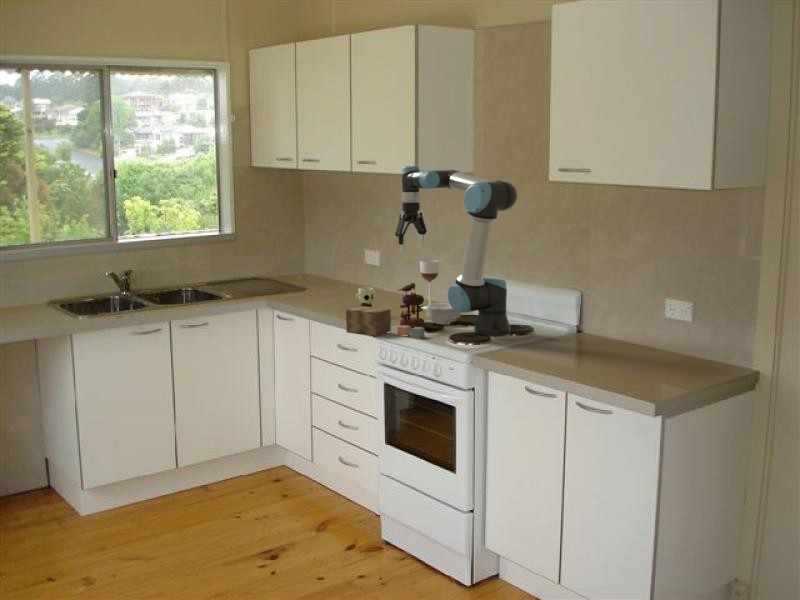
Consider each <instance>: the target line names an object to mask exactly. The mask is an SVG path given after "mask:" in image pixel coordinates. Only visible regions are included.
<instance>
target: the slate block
mask: <svg viewBox="0 0 800 600" xmlns="http://www.w3.org/2000/svg"><path fill="white" fill-rule="evenodd" d="M425 330H426V329H425V327H424V328H423V327H414V328H411V335H410V338H411V337H414V338H413V339H417V340H418V339H423V338H425V336H426V335H425V334H426V333H425V332H426V331H425Z"/></svg>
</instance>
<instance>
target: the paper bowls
mask: <svg viewBox="0 0 800 600" xmlns="http://www.w3.org/2000/svg"><path fill="white" fill-rule="evenodd" d="M426 306H427V307H426V308H427V309H426V310H425V311H426V312H425V313H426V315H425V316H426V317H427V318H430V321H431V323H432V322H436V323H441V324H448V323H451V322H453V321H455V322H456V321H457V319H458V318H459V319H460V318H461V313H462V312H457V311H455V310H454V309H453V308H452V307H451V305H450V303H441V302H440V303H439V302H438V303H431V304H429V303H428V304H427V305H426ZM448 325H449V324H448Z"/></svg>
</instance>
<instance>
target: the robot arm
mask: <svg viewBox="0 0 800 600" xmlns="http://www.w3.org/2000/svg"><path fill="white" fill-rule="evenodd" d="M445 188H446V189H450V190H454V191H457V192H461V193H464V195H463V196H464V197H463V203H464V208H465V209H466V210H467V215H468V216H469V218H470V220H469V224H468V225H469V226H468V232H467V237H466V243H465V249H464V254H463V260H462V265H461V269H460V270H461V272H460V274H459V275H457V276H456V278H455V284H451V286H449V287H448V289H447V300H448V304H450V305H451V307H452V308H453V309H454V310H455V311H457V312H461V313H469V312H475V311H478V313H477V314H478V315H477V318H476V321H475V325H474V327H473V332H474V334H476V333H478V334H477V335H479V334H483V335H482V336H486V335H487V337H489V336H490V337H491V336H492V337H495V336H498V337H499V336H505V335H510V334H511V325H510V322H509V320H508V315H507V294H508V293H507V290H508V289H507V282H506V280H505V279H503V278H494V277H483V272H484V268H485V267H484V266H485V262H486V256H487V252H488V245H489V241H490V236H491V230H492V226H493V225H492V223H493V221H496V220H497V218H498V213H499V212H502V211H503V212H504V211H506V210H510V209H511V208H512V207H513V206H515V204H516V202H517V200H518V191H517V188H516V187H515V185H513V184H512V183H510V182H508V181H503V180H497V179H496V180H495V181H493V180H489V179H485V178H481V177H478V176H473V175H468V174H465V173H461V171H460V170H458V169H444V170H440V169H439V170H420V167H419V166H418V165H405V166H403V167H402V169H401V190H402V194H401V195H402V197H401V198H402V199H401V200H402V205H401V206H402V208H401V209H402V211H403V212H404V213H399V216H398V222H397V226H396V229H395V233H394V235H395V236H396V237H397V238H398V249H399V250H398V252H399V253H406V237H405V234H406V233H407V230H408V228H409V226H410V225H411V224H413V227H414V228H415V230H416V231H417V233H418V234H416V235H417V236H416V237H417V238H416V239H417V247H416V249H417V250H424V241H425V240H424V239H425V238H424V236H425V235H426V234H427V231H428V230H427V227H426V223H425V220H424V216H423V212H422V211H420V209H421V208H420V207H421V206H420V202H419V201H420V194H421V193H420V189H426V190H431V189H445ZM509 333H510V334H509Z"/></svg>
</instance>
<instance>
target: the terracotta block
mask: <svg viewBox="0 0 800 600" xmlns="http://www.w3.org/2000/svg"><path fill="white" fill-rule="evenodd" d="M396 328H397V331H396V332H397V334H398V335H410V334H411V326H406V325H402V326H400V325H398V326H397V327H396ZM397 334H396V335H397ZM410 336H411V335H410Z"/></svg>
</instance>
